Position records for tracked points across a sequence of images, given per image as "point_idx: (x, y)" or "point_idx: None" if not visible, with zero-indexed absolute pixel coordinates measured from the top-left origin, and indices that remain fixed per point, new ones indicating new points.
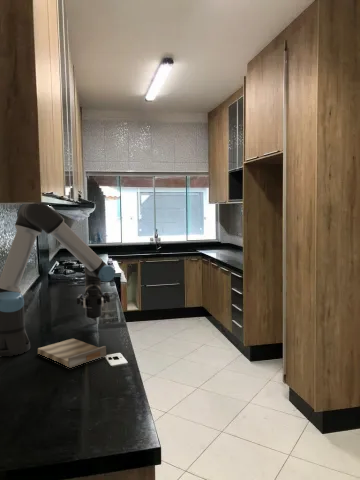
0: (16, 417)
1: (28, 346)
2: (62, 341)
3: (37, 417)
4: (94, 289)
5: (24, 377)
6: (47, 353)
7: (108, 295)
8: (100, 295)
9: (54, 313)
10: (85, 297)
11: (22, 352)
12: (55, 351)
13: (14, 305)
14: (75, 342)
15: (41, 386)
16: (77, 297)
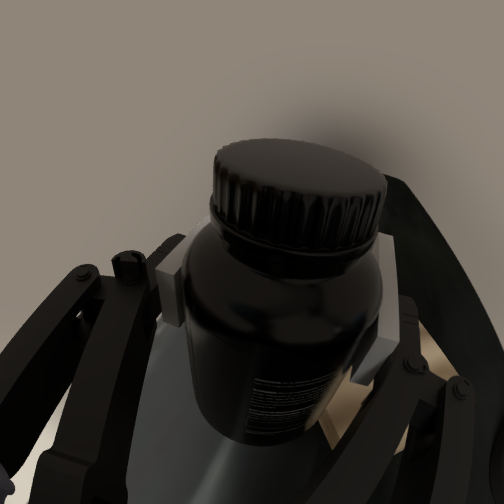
0: (419, 213)
1: (500, 450)
2: (403, 444)
3: (397, 204)
4: (295, 145)
5: (451, 291)
6: (440, 353)
7: (43, 308)
8: (204, 226)
9: None
10: (382, 285)
11: (502, 430)
12: (421, 348)
13: None
14: (353, 407)
15: (412, 251)
16: (470, 437)
